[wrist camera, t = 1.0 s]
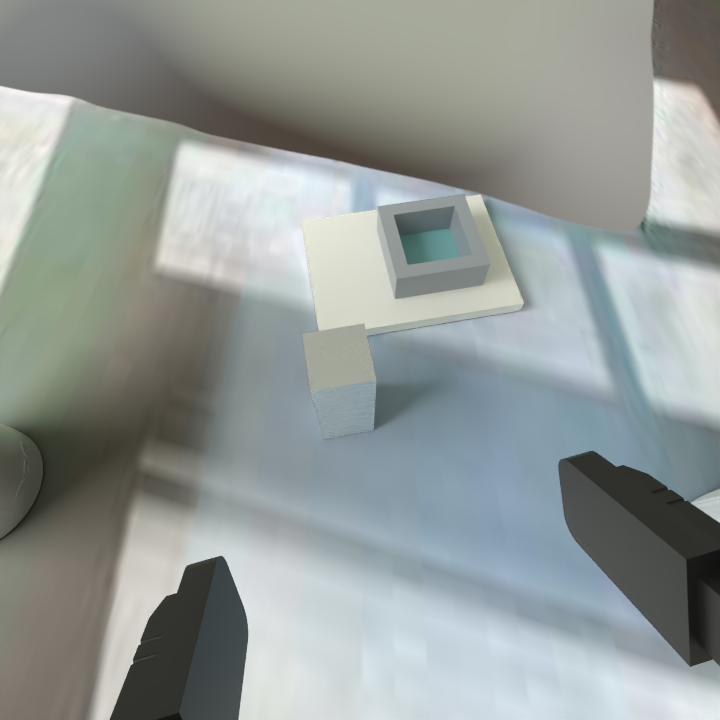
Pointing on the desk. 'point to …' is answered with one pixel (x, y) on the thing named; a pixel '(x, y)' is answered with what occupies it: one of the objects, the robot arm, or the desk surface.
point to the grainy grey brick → (341, 379)
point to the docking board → (408, 266)
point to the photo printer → (709, 504)
